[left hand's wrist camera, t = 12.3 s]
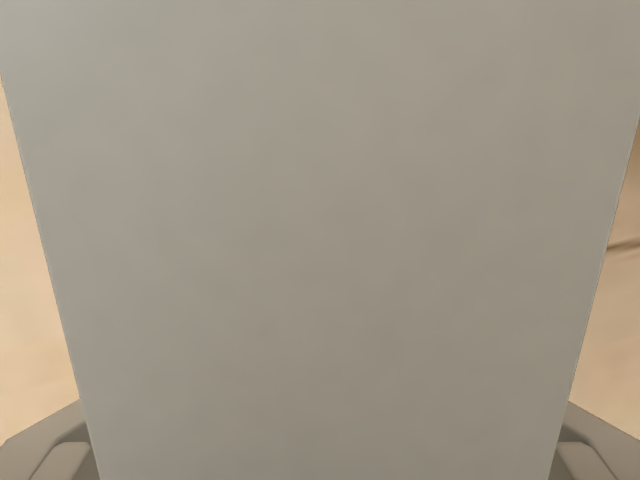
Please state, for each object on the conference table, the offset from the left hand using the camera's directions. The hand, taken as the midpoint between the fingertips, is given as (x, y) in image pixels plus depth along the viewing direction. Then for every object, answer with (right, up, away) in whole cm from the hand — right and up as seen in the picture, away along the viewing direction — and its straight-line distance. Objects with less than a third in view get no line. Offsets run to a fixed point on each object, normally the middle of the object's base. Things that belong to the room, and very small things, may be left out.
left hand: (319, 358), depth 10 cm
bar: (0, +10, -1) cm, 10 cm away
